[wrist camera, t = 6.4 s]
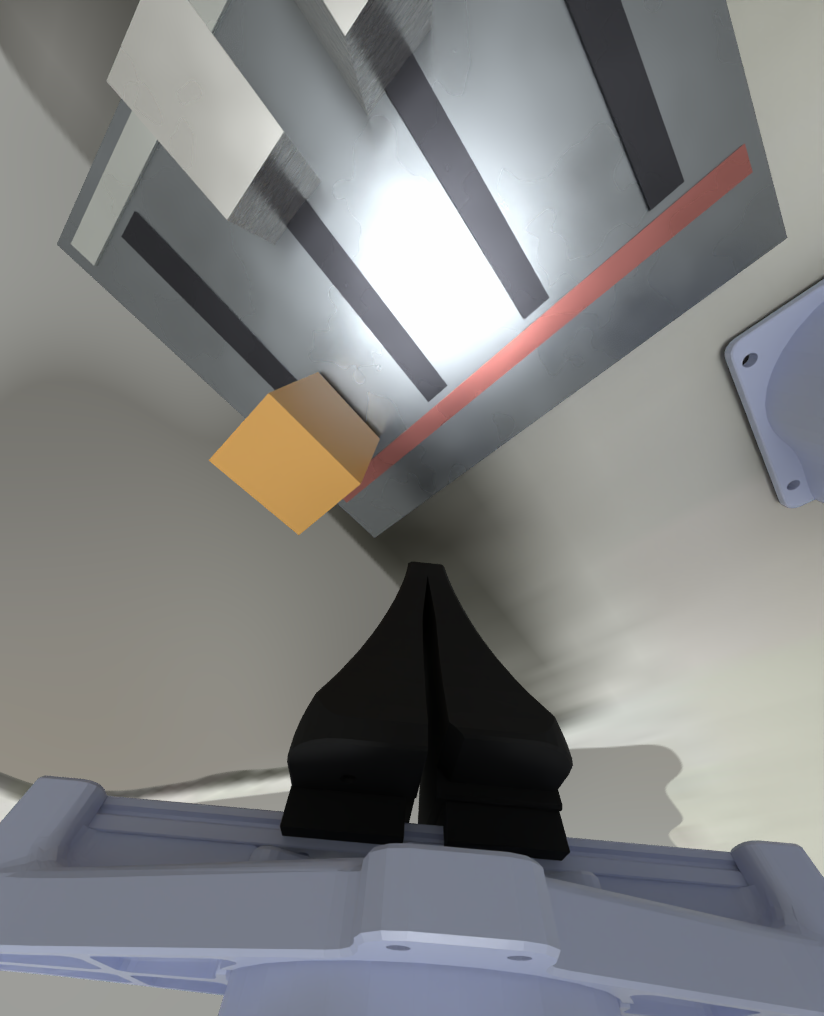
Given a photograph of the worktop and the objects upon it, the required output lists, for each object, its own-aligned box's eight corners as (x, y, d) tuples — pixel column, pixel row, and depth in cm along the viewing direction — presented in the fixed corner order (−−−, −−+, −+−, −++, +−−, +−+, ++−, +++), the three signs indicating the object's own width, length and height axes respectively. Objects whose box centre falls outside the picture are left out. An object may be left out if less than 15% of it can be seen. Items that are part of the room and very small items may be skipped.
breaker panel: (754, 245, 11) (908, 208, 8) (377, 525, 18) (364, 576, 14) (502, -599, 6) (625, -2132, 2) (88, 251, 12) (-55, 220, 9)
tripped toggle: (379, 438, 14) (361, 483, 10) (332, 479, 15) (298, 535, 11) (318, 371, 13) (268, 392, 9) (271, 421, 14) (208, 460, 10)
